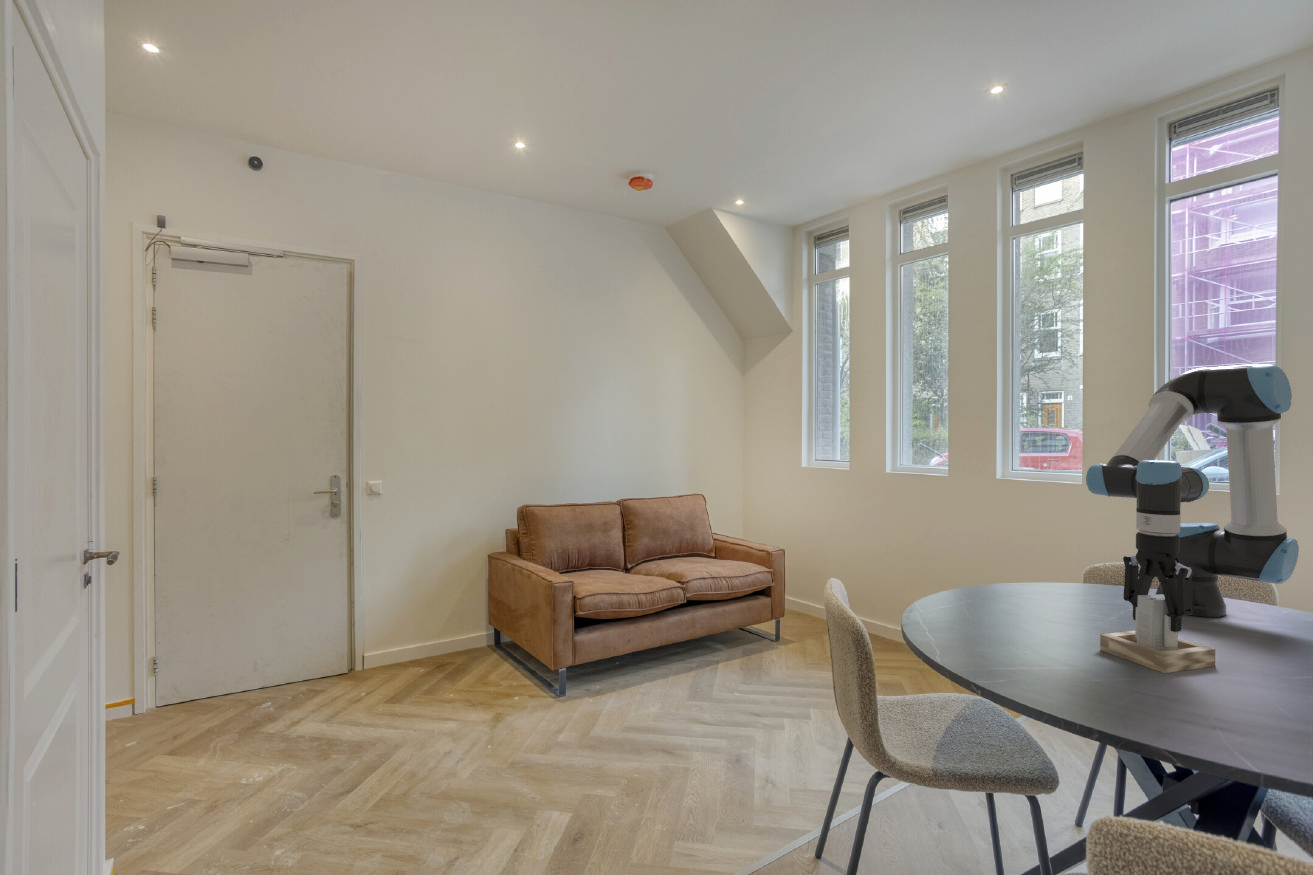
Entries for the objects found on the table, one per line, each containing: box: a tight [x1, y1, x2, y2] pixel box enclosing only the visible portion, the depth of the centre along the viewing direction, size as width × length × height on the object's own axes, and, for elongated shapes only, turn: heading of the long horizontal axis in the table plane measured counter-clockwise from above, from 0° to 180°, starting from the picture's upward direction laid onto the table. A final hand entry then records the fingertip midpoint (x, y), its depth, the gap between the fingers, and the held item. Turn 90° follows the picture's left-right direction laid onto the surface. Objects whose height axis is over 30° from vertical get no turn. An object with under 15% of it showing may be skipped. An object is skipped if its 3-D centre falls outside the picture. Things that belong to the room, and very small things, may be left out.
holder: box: [1099, 630, 1216, 674], centre depth 142 cm, size 14×14×4 cm
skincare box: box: [1137, 594, 1178, 652], centre depth 142 cm, size 6×4×12 cm
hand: (1156, 640), depth 142 cm, fingers open, 6 cm apart
